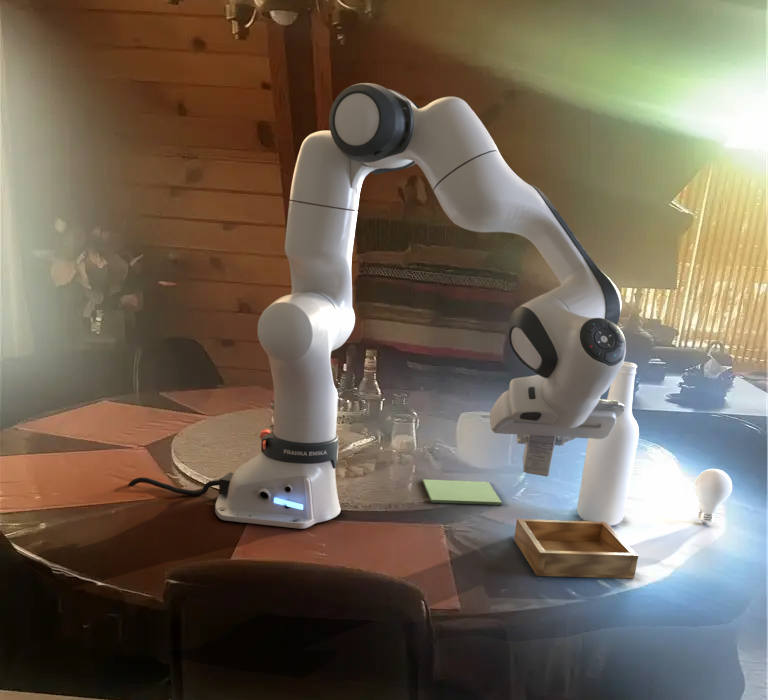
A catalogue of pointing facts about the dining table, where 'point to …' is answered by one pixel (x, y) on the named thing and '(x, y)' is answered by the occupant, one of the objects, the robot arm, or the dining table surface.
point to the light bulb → (711, 493)
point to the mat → (461, 492)
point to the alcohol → (611, 459)
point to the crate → (574, 549)
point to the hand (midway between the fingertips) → (539, 441)
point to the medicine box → (538, 454)
